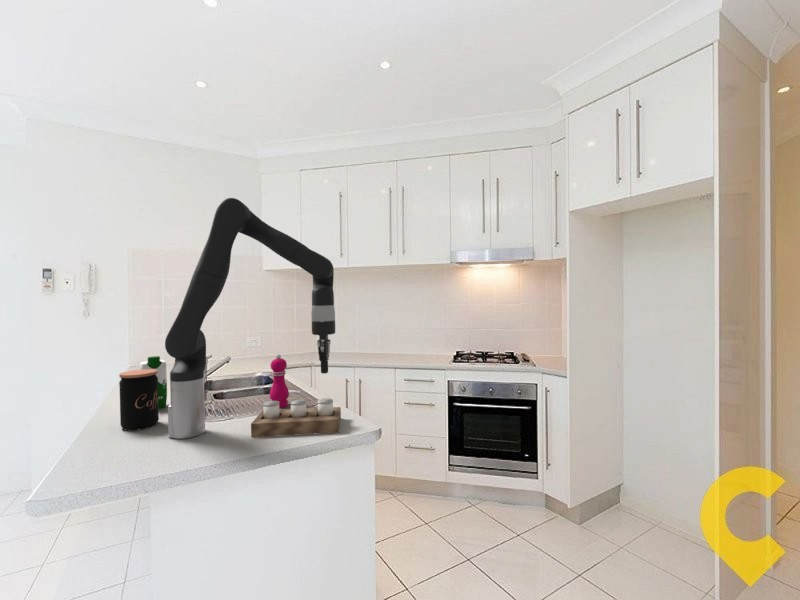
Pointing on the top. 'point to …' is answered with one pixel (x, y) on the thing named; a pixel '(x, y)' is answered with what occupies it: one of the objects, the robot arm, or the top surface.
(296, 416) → the middle knob
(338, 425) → the control board
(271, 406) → the knob
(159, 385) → the milk carton
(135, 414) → the coffee jar
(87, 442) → the top surface
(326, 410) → the knob
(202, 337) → the robot arm
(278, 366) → the pepper mill
